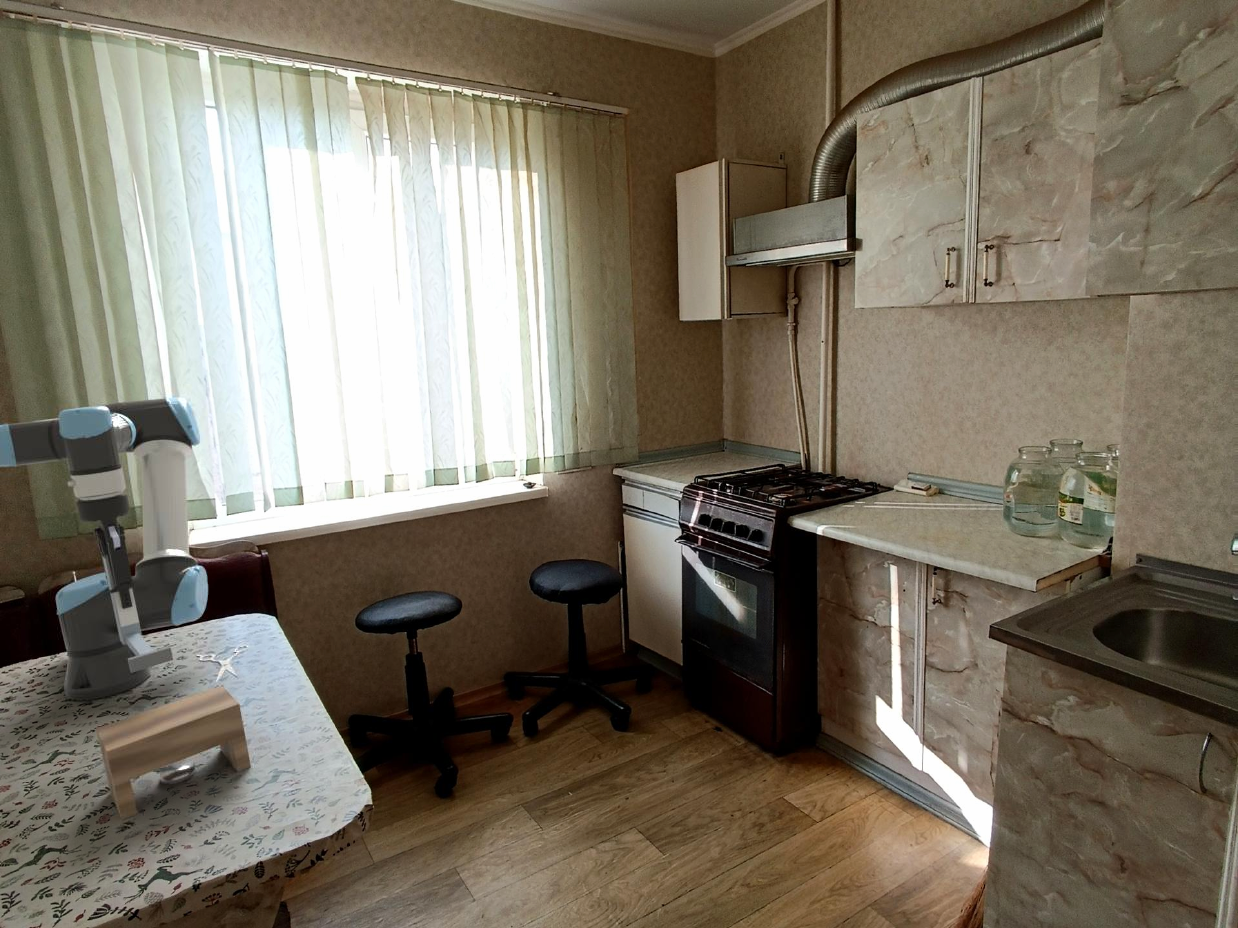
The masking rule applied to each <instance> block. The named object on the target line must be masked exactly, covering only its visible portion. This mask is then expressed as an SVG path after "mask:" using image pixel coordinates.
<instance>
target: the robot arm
mask: <svg viewBox="0 0 1238 928" xmlns="http://www.w3.org/2000/svg"><path fill="white" fill-rule="evenodd" d="M200 443H201V435H200V431H199V426H198V423H197V420H196V417H195V414H194V411H193V408H192V407H191V405H190V403H189V401H188V400H187V399H185V398H183V397H165V396H164V397H163V398H155V399H145V400H133V401H132V400H131V401H125V402H124V401H123V402H112V403H107V404H103V405H96V406H93V405H92V406H85V407H76V408H70V409H63V410H61V411H59V414H58V418H57V417H56V418H51V419H42V420H35V421H33V420H32V421H25V422H15V423H3V424H0V468H5V467H14V468H15V467H18V466H24V465H25V466H26V465H33V464H42V463H49V462H57V461H66V462H67V466H68V469H69V475H70V478H71V479H72V480H69V481H67V486H68V487H73V493H74V496H75V497H76V498H79V499H77V501H76V508H77V513H78V519H79V520H80V521H82V522H85V523H87V522H88V523H89V522H90V523H91V522H92V523H93V522H96V526H97V527H95V528H93V533H94V537H95V538H96V541H97V546H98V549H99V552H100V555H101V559H102V565H103V568H104V572H100V573H97V574H92V575H89V576H87V577H86V576H85V577H84V578H81V579H78V580H76V582H75V581H74V582H71V583H69V584H67V585H65V586H64V587H62V588H61V589H60V590H59V591H58V592H57V593H56V595H55V603H56V608H57V609H56V615H58V616H57V617H58V620H59V624H60V628H61V629H60V630H61V633H62V636H63V641H64V645H65V649H66V650H65V651H66V652H67V666H66V671H65V679H64V682H63V688H64V689H63V690H64V694H65V697H67V698H69V699H72V700H71V701H73V700H77V701H76V702H83V701H84V700H85V701H93V700H98V699H102V698H107V697H110V696H115V695H117V694H119V693H123V692H125V691H129V690H130V689H132V688H135V687H136V686H139V685H141V684H142V683H143V682H145V681H146V680H147V679H149V677H150V676H151V673H152V671H151V667H149V668H146V669H143V670H139V671H136V672H133V673H131V671H130V667H129V663H128V658H131V657H135V656H136V655H135V654H134V653H133V651H132V650H131V649H130V648H129V646H128V645H127V644H125V645H123V644H122V642H121V641H120V637H119V632H118V627H117V623H116V618H115V613H114V608H113V604H112V599H111V594H110V593H114V596H115V601H116V606H117V610H118V615H119V620H120V624H121V627H124V626H127V625H131V624H135V623H138V622H139V624H140V628H141V632H142V631H148V630H153V629H158V628H159V629H160V628H165V627H171V626H180V625H182V624H186V623H190V622H195V621H197V620H198V619H200V618H201V617H202V616H203V614H204V612H205V610H206V608H207V602H208V595H209V584H208V575H207V571H206V569H205V567H203V566H202V565H198V560H197V559H196V558H195V557H193V556H192V555H190V546H189V545H190V544H189V543H190V541H189V523H188V522H189V520H188V502H187V501H188V497H187V479H186V478H187V476H186V460H188V459H189V458H190V457H191V456H192V454H193V446H197V445H200ZM126 453H133V455H134V457H135V458H136V459H137V460H139V461H140V462H141V493H142V494H141V495H142V496H141V497H142V501H141V502H142V507H141V508H142V542H143V543H142V544H143V546H142V547H143V549H142V550H143V557H142V559H141V560H140V561H138V562H137V563H136V565H135V571H134V572H135V575H133V576H132V572H131V567H130V562H129V556H128V552H127V551H128V550H127V543H126V536H125V528H124V525H121V524H120V523H119V522H118V520H117V518H119V517H123V516H125V515H128V514H129V513H130V512H131V507H130V502H129V497H128V494H127V493H126V492H124V491H125V490H126V489H127V486H126V480H125V475H124V469H123V467H122V464H121V459H120V454H126ZM106 555H107V558H108V563H109V567H110V571H111V576H112V580H113V584H114V589H112V590H109V585H108V580H107V576H106V571H105V566H104V561H103V557H102V556H106ZM134 599H135V600H134ZM135 604H136V605H135ZM136 609H137V610H136ZM67 698H66V699H67ZM69 699H68V700H69ZM79 700H80V701H79ZM85 701H84V702H85Z"/></svg>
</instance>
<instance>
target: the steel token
mask: <svg viewBox="0 0 1238 928" xmlns="http://www.w3.org/2000/svg"><path fill="white" fill-rule="evenodd" d="M195 773H197V764H196V762H195V760H192V759H187V760H186V759H183V760H180V761H178V762H175V763H173V764H170V765H168V766H165V767H163V768H162V770H161V771H160V773H159V776H160V781H161V783H162V784H164V785H174V784H178V783H181V782H183V781H186V780H188V779H190V778H192V777H193V776H194V775H195Z"/></svg>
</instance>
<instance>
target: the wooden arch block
mask: <svg viewBox="0 0 1238 928" xmlns="http://www.w3.org/2000/svg"><path fill="white" fill-rule="evenodd" d="M243 721H244V720H243V716H242V711H241V707H240V703H239V702H238V701H237V700H236V699H235V697H233V695H231V694H230V692H229V691H228V690H227V689H226V688H225V687H224V686H223V685H220V686H217V687H214V688H212V689H207V690H206V691H202V692H199V693H196V694H193V695H191V696H188V697H184V698H181V699H179V700H176V701H174V702H169V703H167V704H164V705H161V706H158V707H156V708H152V709H150V710H146V711H144V712H141V713H138V714H134V715H132V716H128V717H125V718H123V719H120V720H117V721H114V722H111V723H108V724H106V725H102V726H99V727H97V728H95V730H96V734H97V735H96V736H97V739H98V743H99V748H100V752H101V758H102V761H103V766H104V770H105V775H106V780H107V783H108V788H109V793H110V795H111V796H110V797H111V798H112V800H113V802H114V805H115V807H116V810H117V812H118V814H119V817H120V818H121V821H123V820H126V819H128V818H130V817H132V816H135V815H138V814H139V813H138V810H137V809H138V808H137V805H136V804H137V803H136V801H135V796H134V792H133V787H132V786H133V785H132V782H131V780H134V779H136V778H139V777H141V776H144V775H147V774H149V773H152V772H155V771H156V770H159V769H163V768H166V767H167V766H169V765H171V764H173V763H176V762H179V761H183V760H186V759H188V758H191V757H193V756H195V755H197V754H201V753H203V752H206V751H209V750H212V749H213V748H217V747H218V746H219V749H220V751H221V753H222V754H223V755H224V756H225V757H226V759H227V760H228V762H229V763H230V764H231V765H232V766H233V768H234V769H235V771H236V772H237V773H238V772H241V771H244V770H246V769H248V768H251V767H252V764H251V759H250V755H249V750H248V749H249V748H248V743H247V739H246V733H245V727H244V722H243Z"/></svg>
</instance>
